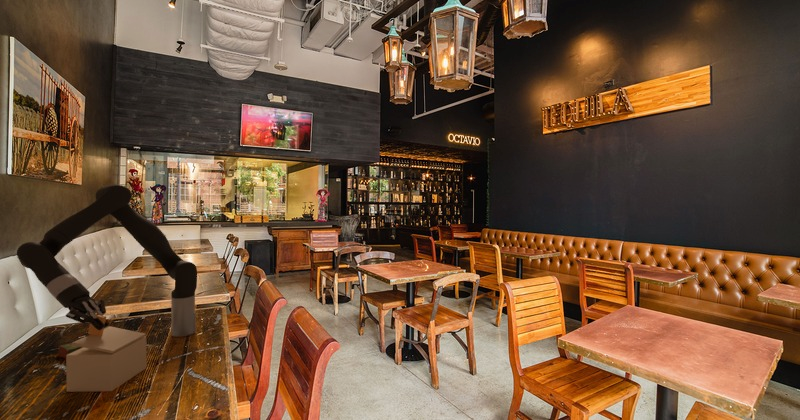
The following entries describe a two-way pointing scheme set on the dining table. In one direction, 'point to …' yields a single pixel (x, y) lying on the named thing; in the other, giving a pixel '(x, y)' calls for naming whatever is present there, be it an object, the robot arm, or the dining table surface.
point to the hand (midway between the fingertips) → (104, 327)
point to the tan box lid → (108, 338)
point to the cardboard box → (104, 367)
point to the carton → (67, 349)
